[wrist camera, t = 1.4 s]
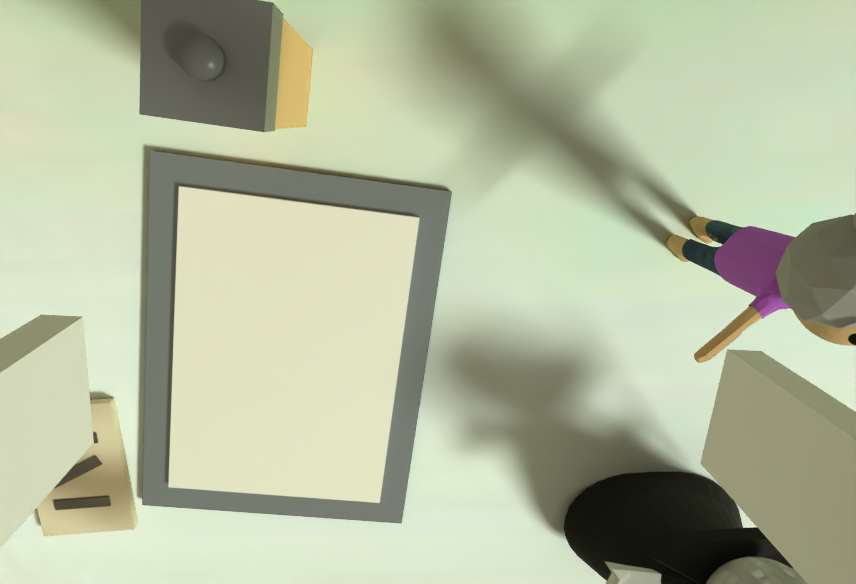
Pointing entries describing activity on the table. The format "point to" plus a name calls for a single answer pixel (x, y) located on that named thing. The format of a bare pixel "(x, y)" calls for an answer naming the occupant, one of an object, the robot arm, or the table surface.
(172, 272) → the grey framed cream board
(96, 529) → the word card
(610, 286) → the table surface
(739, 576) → the toy
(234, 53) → the tan grey knobbed box
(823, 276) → the toy
